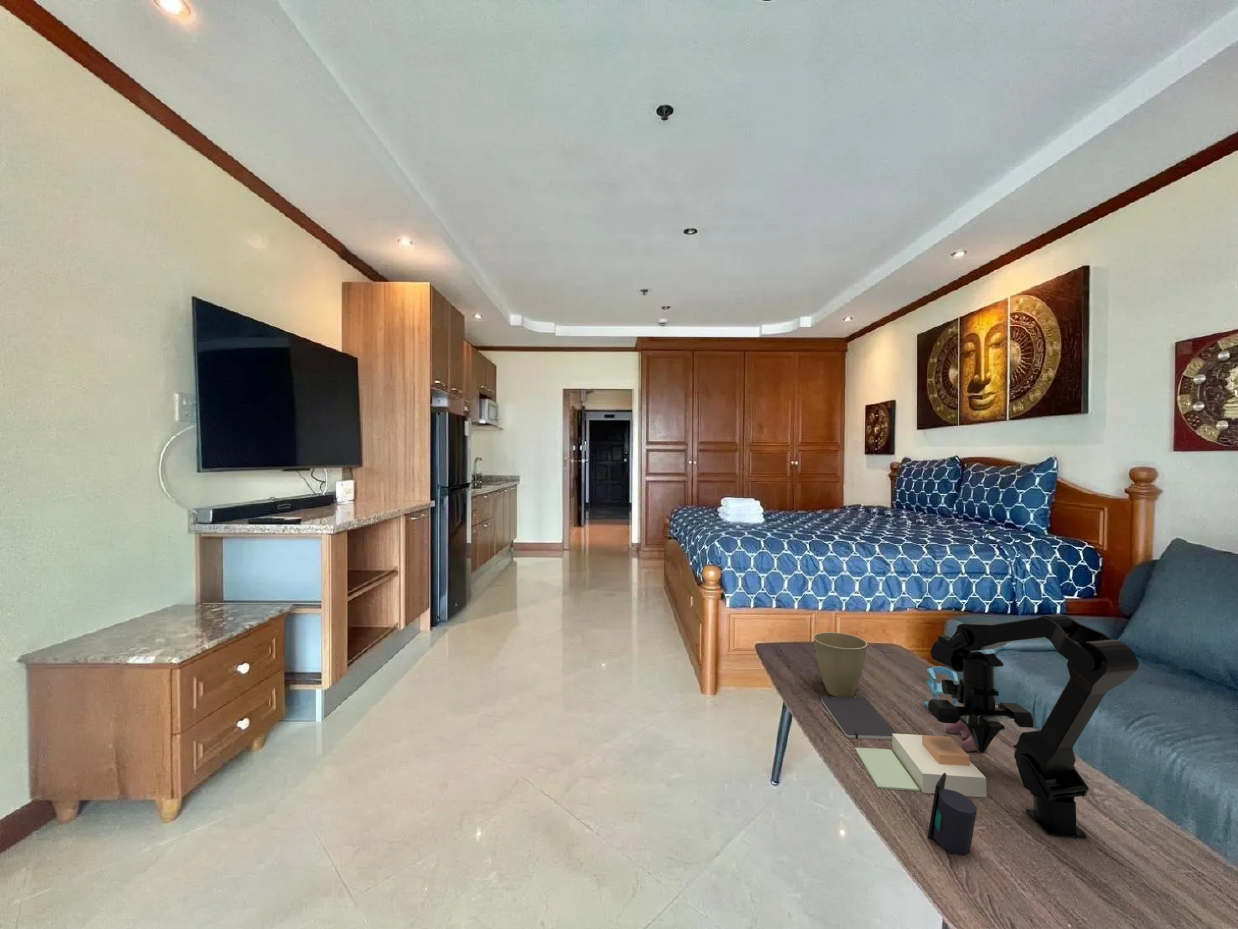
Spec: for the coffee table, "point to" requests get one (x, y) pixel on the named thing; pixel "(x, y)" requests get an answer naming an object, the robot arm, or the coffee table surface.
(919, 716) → the coffee table surface
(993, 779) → the coffee table surface
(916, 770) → the cream flat block
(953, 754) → the tile
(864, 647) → the plant pot
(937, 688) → the chair
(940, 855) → the coffee table surface
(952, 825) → the speaker
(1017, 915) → the coffee table surface
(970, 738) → the video game controller
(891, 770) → the mat
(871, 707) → the notebook
